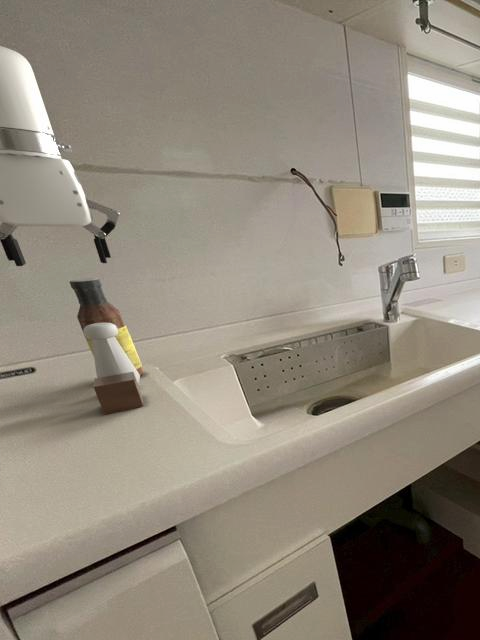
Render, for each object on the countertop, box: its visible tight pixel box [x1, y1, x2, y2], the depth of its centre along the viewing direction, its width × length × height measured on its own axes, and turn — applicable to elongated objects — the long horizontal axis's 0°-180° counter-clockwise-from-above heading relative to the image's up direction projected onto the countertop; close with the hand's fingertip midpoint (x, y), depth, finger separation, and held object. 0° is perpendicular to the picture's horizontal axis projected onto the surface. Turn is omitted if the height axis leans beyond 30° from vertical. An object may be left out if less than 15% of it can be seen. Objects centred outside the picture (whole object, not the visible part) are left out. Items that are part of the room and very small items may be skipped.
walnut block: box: [93, 372, 144, 415], centre depth 69 cm, size 5×5×5 cm
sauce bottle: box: [69, 277, 144, 377], centre depth 78 cm, size 6×6×20 cm
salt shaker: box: [83, 323, 141, 384], centre depth 73 cm, size 6×6×13 cm
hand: (64, 263), depth 66 cm, fingers open, 9 cm apart
